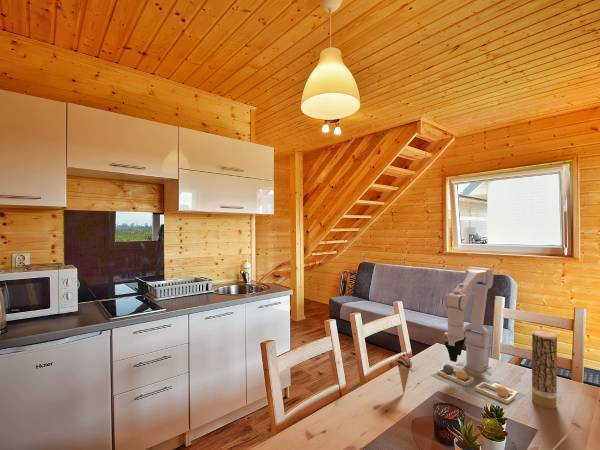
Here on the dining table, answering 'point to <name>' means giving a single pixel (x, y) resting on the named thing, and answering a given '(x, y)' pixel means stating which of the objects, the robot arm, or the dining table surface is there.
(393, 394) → the dining table surface
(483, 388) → the sorting board
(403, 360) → the ice cream cone
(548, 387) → the bark log
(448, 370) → the charcoal ball
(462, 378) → the tan ball
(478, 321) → the robot arm
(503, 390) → the tan ball
